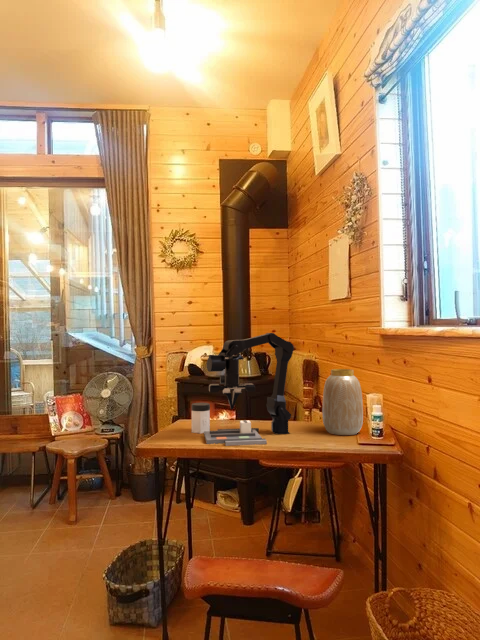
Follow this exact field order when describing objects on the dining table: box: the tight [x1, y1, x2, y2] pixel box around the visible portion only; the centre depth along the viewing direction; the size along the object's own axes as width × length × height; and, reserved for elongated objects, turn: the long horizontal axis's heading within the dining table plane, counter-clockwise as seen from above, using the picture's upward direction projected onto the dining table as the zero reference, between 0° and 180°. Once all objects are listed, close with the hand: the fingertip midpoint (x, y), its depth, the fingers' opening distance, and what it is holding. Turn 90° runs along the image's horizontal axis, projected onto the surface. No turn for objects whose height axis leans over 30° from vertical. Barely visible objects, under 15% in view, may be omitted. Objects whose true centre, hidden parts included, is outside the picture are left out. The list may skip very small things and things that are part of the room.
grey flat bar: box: [224, 438, 268, 447], centre depth 175 cm, size 16×3×1 cm, turn 98°
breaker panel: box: [203, 429, 263, 445], centre depth 185 cm, size 22×16×2 cm
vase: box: [322, 368, 364, 436], centre depth 196 cm, size 17×17×27 cm
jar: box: [191, 402, 211, 434], centre depth 198 cm, size 9×8×12 cm
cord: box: [216, 427, 260, 433], centre depth 196 cm, size 18×1×1 cm, turn 98°
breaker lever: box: [239, 419, 252, 433], centre depth 186 cm, size 4×4×5 cm
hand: (232, 408), depth 185 cm, fingers closed
